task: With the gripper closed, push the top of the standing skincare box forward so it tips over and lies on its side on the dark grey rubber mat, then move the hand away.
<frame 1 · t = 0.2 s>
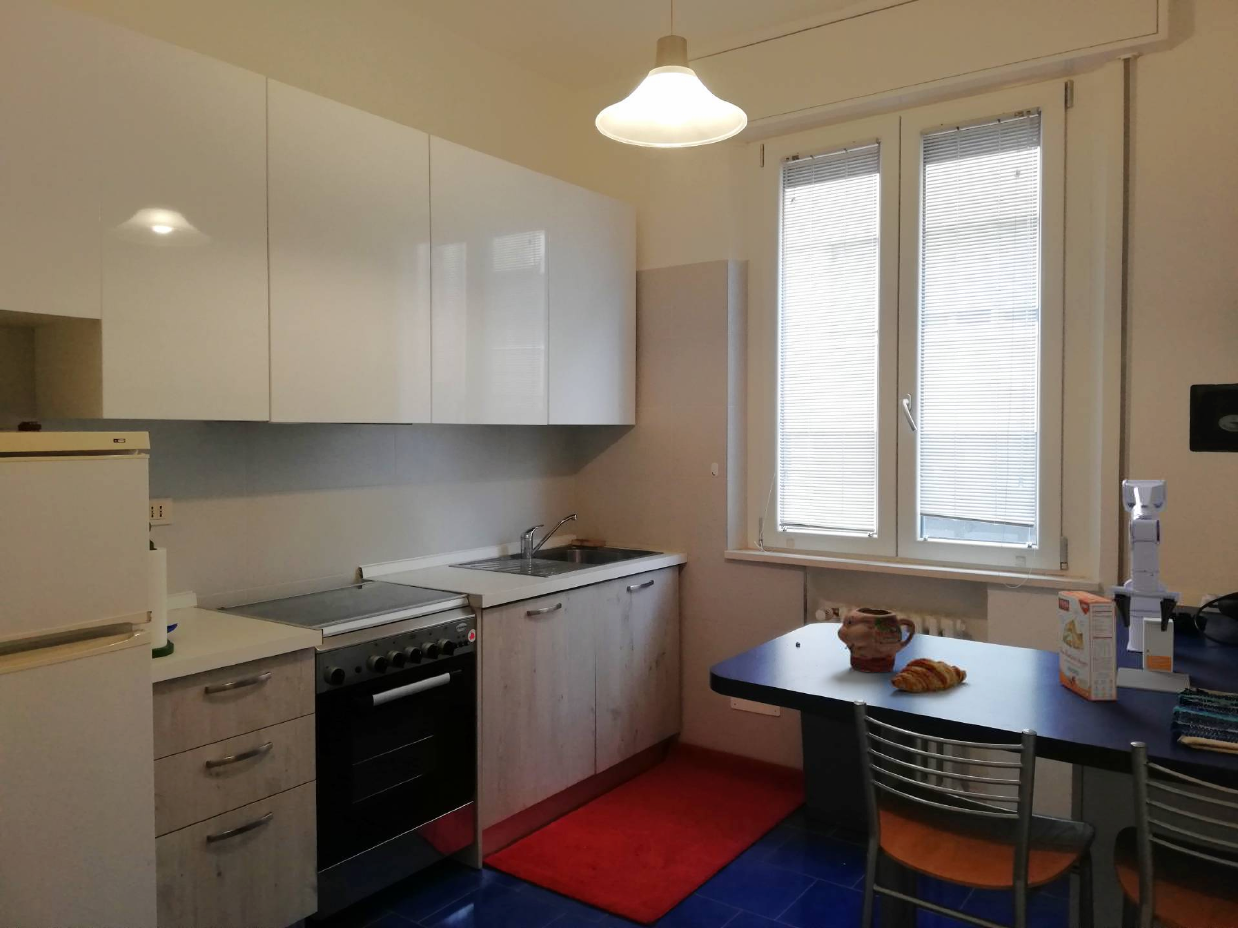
hand: (1145, 628, 211), 10 cm above the table, tool pointing down, fingers open, 7 cm apart
croissant: (930, 688, 200), on the table
rubber mat: (1152, 681, 203), on the table
cracker box: (1086, 693, 194), on the table
brown sculpted mug: (877, 668, 218), on the table
skincare box: (1158, 671, 212), on the table, touching gripper
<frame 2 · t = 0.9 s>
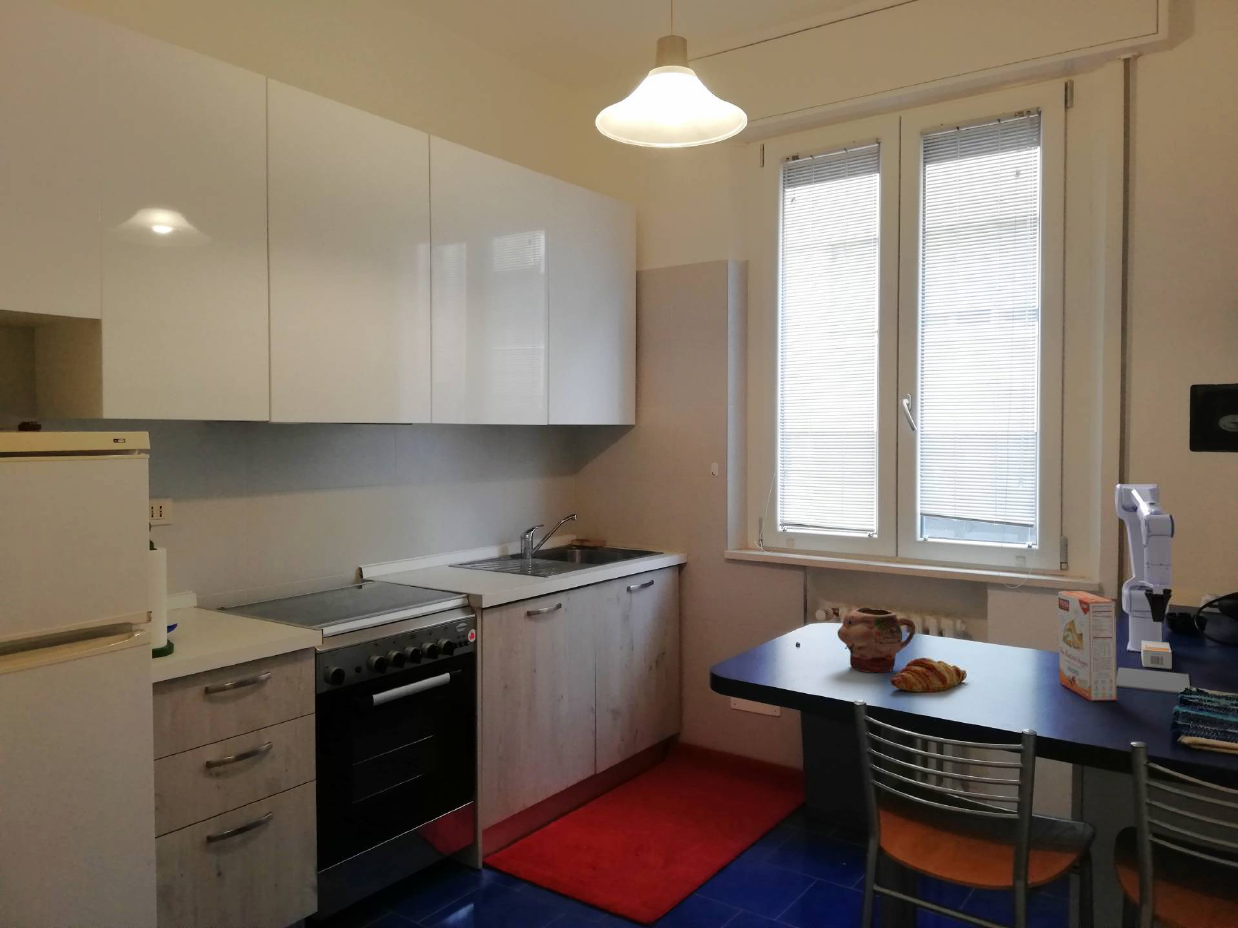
hand: (1158, 620, 219), 10 cm above the table, tool pointing down, fingers open, 5 cm apart
skincare box: (1157, 659, 214), point 2 cm above the table
everything else where it was.
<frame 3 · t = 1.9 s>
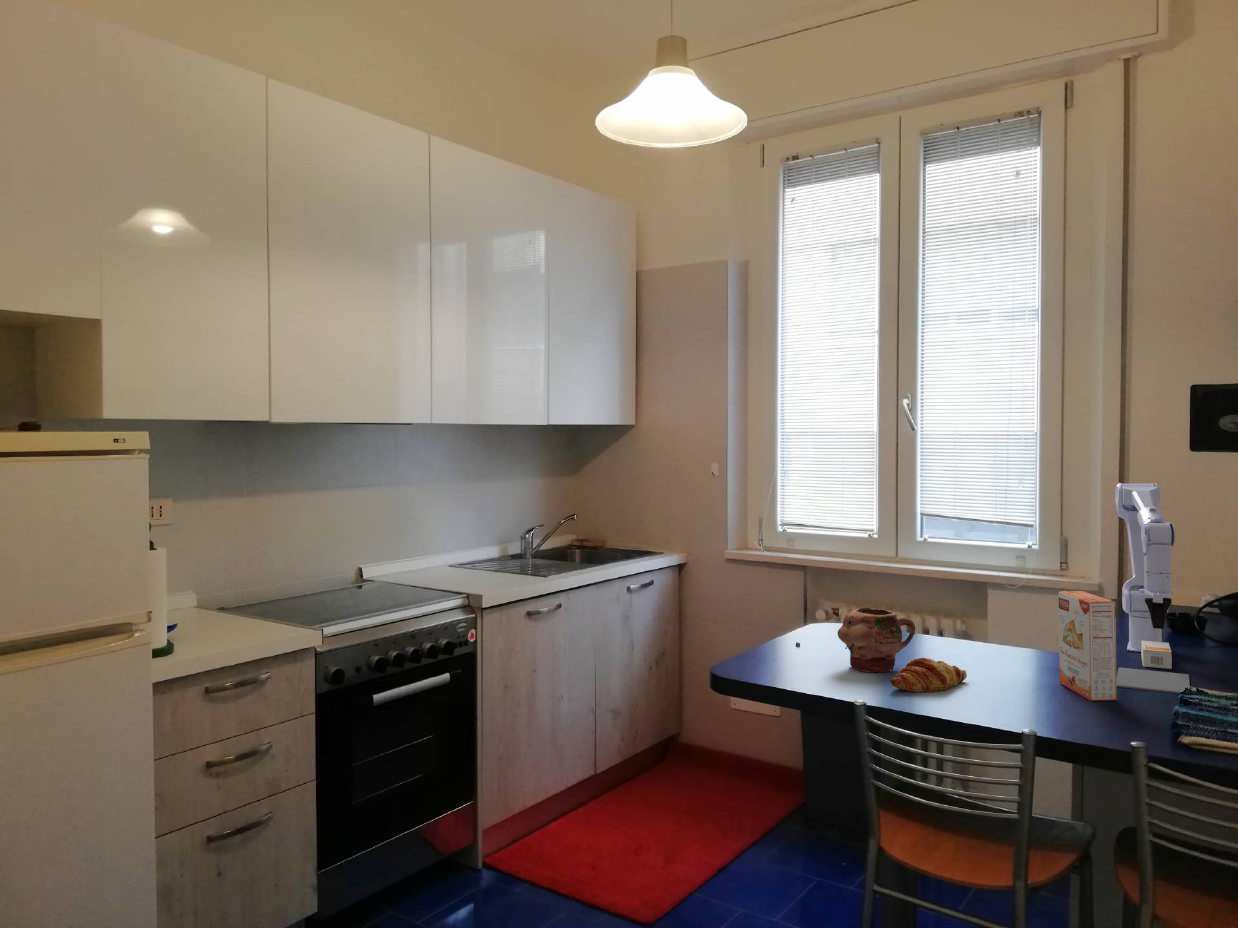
hand: (1158, 628, 220), 8 cm above the table, tool pointing down, fingers closed
nothing on the table moved.
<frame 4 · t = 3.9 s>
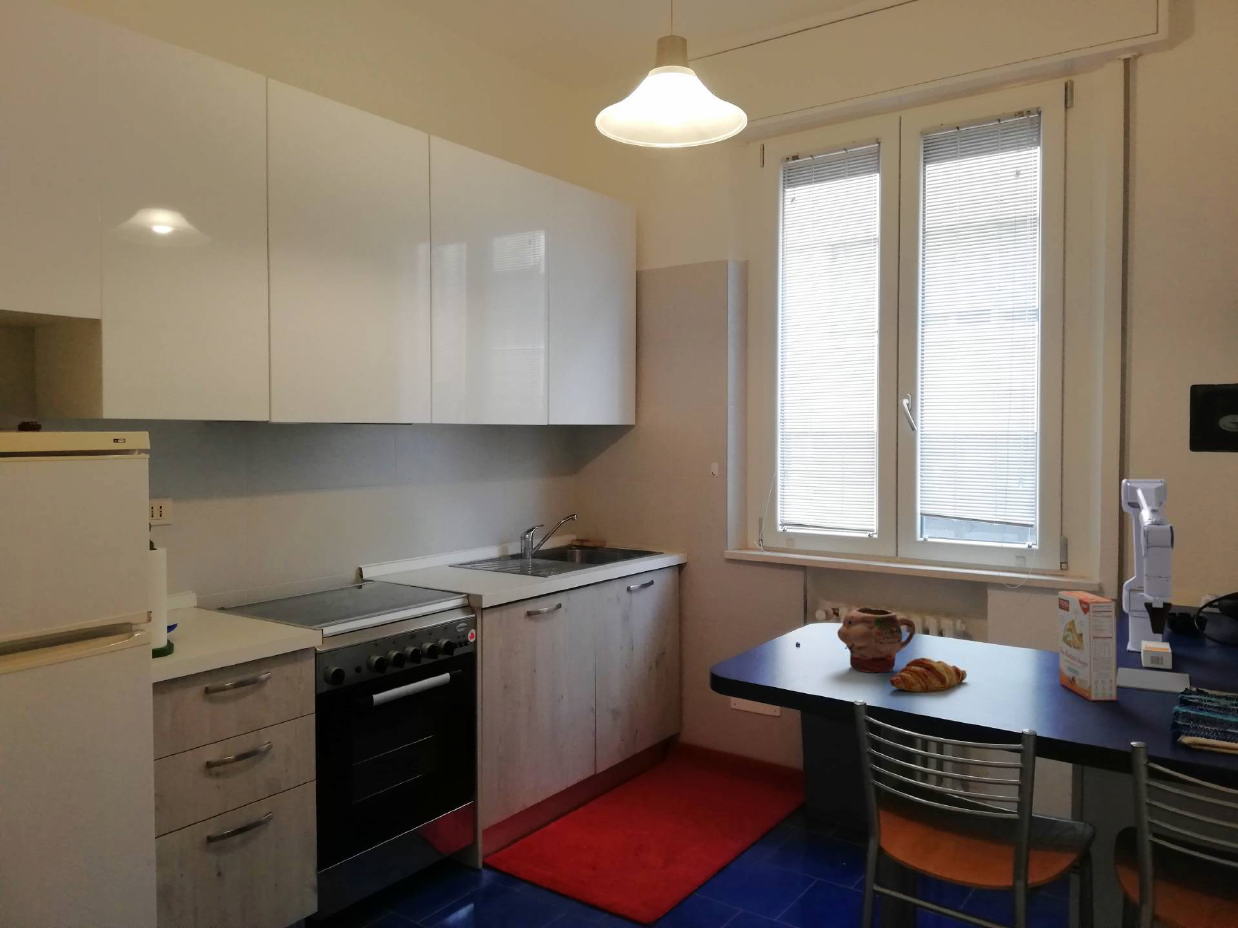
hand: (1158, 633, 213), 8 cm above the table, tool pointing down, fingers closed
nothing on the table moved.
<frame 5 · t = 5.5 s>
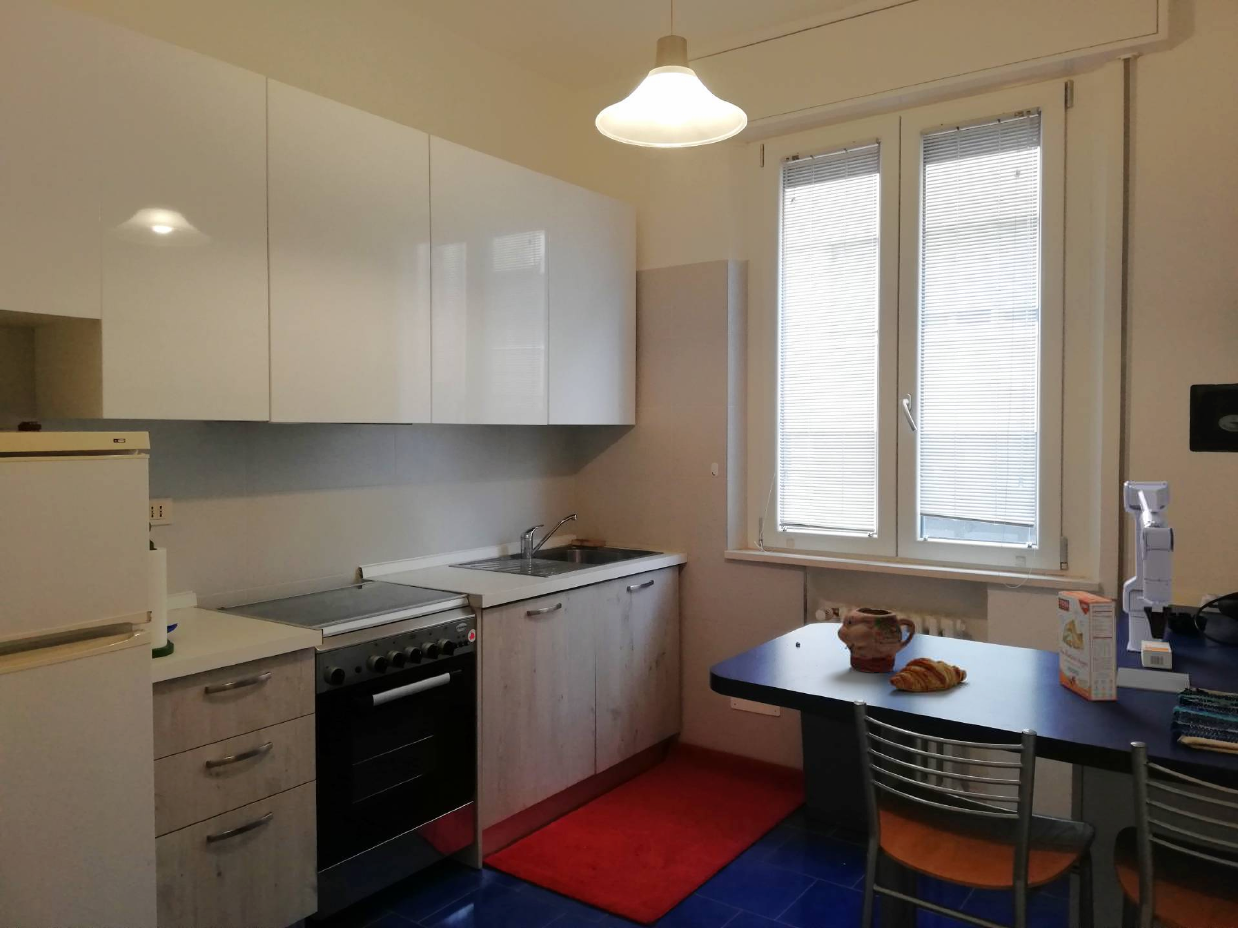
hand: (1157, 638, 208), 8 cm above the table, tool pointing down, fingers closed
nothing on the table moved.
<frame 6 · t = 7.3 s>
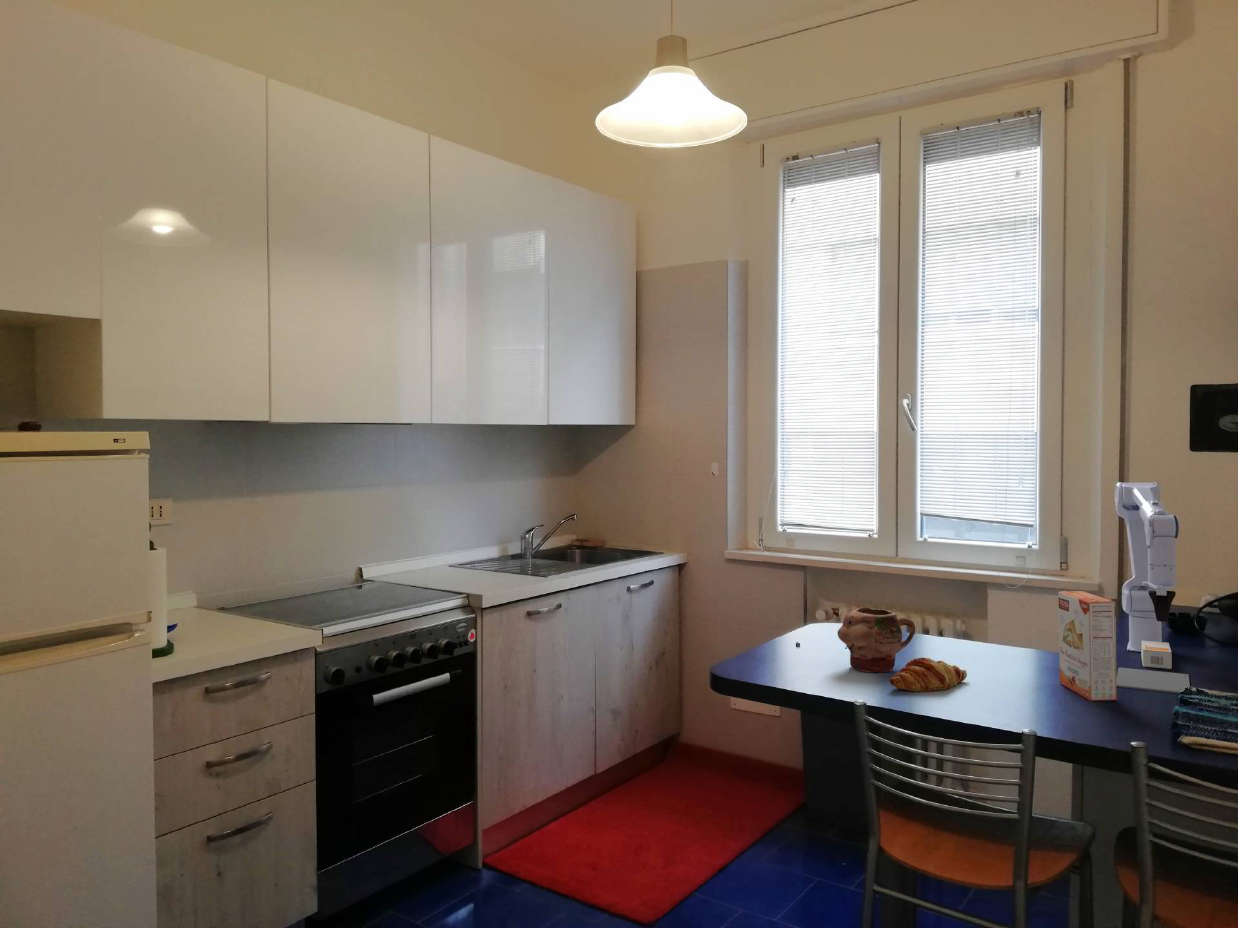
hand: (1162, 621, 218), 10 cm above the table, tool pointing down, fingers closed
nothing on the table moved.
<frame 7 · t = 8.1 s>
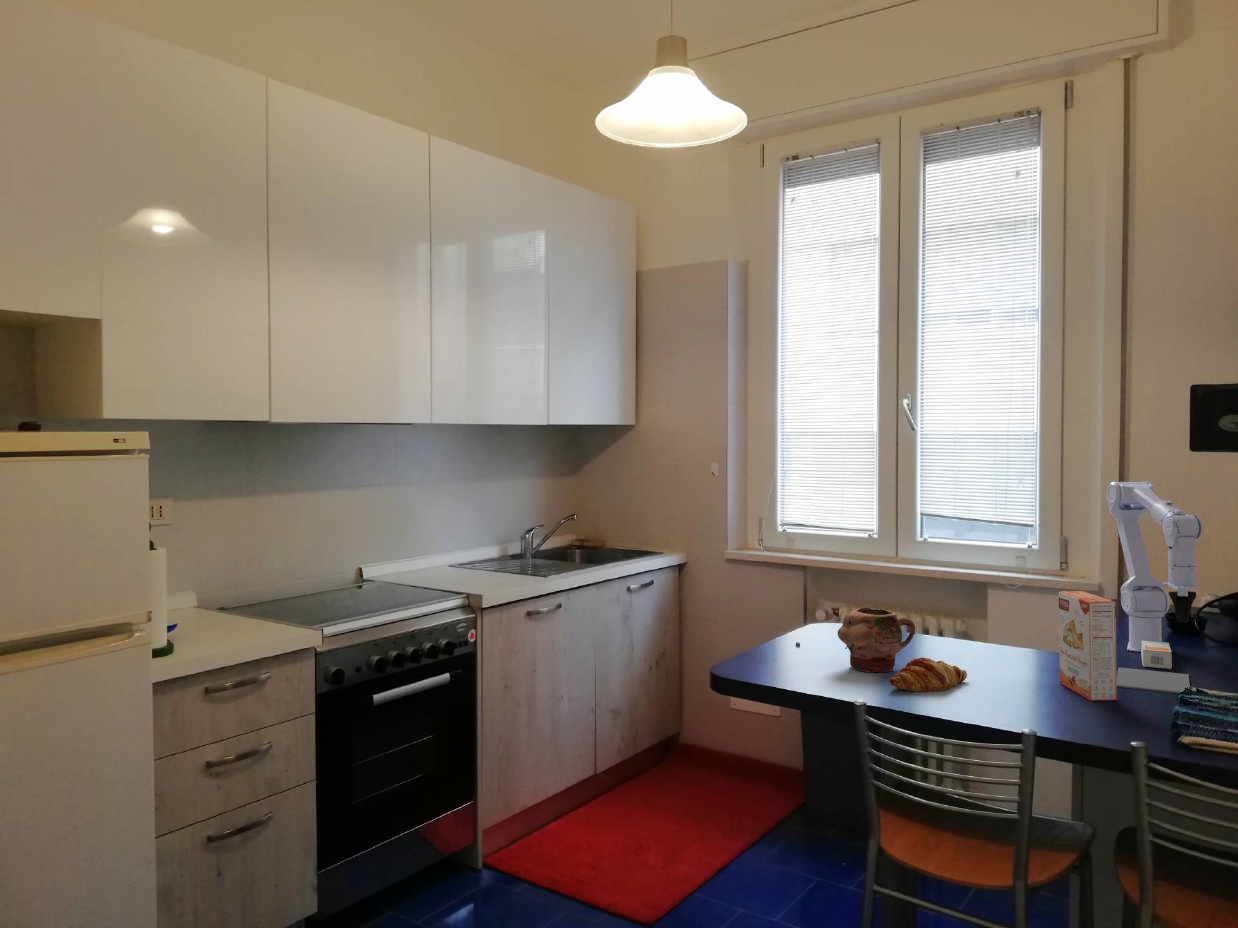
hand: (1182, 622, 217), 10 cm above the table, tool pointing down, fingers closed
nothing on the table moved.
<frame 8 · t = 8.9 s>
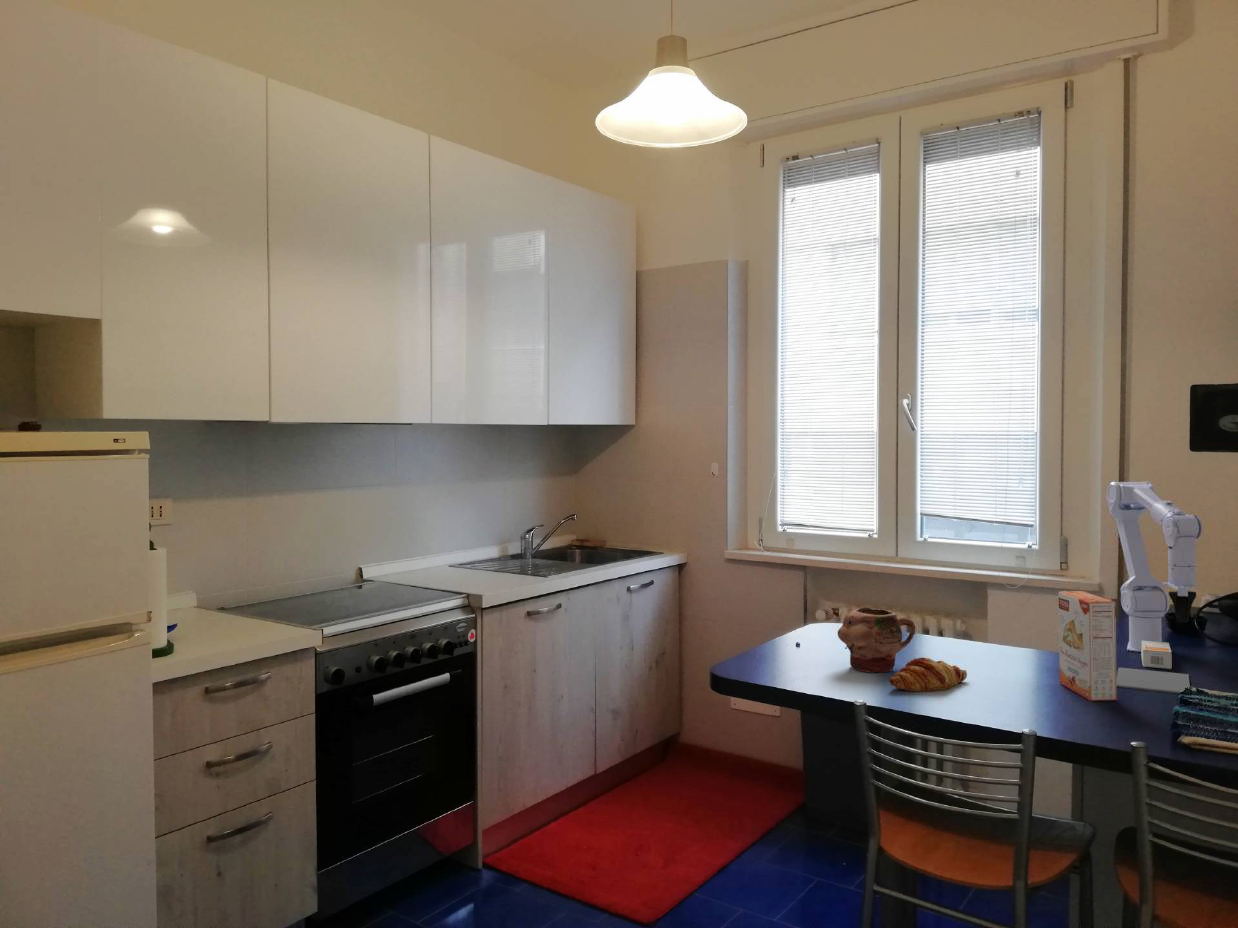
hand: (1182, 622, 217), 10 cm above the table, tool pointing down, fingers closed
nothing on the table moved.
at the end: skincare box tilted 91°; skincare box inside the target area (10.0 cm from its centre), point 2.2 cm above the table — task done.
